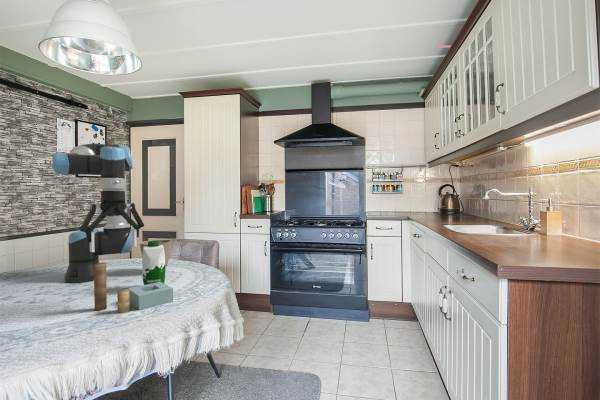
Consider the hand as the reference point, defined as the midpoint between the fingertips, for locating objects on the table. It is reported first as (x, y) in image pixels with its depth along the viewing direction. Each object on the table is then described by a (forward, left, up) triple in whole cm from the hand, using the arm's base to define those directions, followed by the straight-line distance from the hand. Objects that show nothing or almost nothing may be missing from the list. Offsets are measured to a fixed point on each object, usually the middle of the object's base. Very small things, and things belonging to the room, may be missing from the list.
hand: (114, 249), depth 111 cm
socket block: (+5, +11, -21) cm, 24 cm away
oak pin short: (+8, +1, -21) cm, 22 cm away
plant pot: (-36, +29, -21) cm, 51 cm away
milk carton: (-10, +18, -21) cm, 29 cm away
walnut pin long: (0, -4, -21) cm, 21 cm away
